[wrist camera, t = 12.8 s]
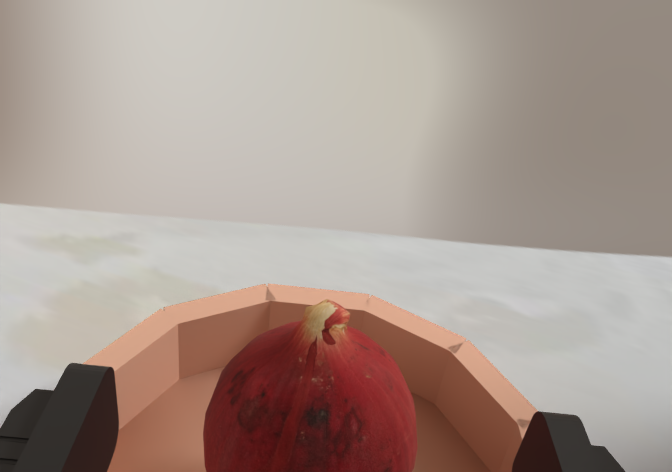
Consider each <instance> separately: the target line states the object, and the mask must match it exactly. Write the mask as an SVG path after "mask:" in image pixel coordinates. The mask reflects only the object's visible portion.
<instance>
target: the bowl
mask: <svg viewBox="0 0 672 472" xmlns="http://www.w3.org/2000/svg"><path fill="white" fill-rule="evenodd" d="M325 299H328V300H331V301H333V302H336V303H337V304H339V305H341V306H342V307H343V308H345V309H346V310H347V311H348V312H349V313H350V317H349V322H348V323H347V324H346V325H347V326H350V327H352V328H355V329H358V330H360V331H361V332H363V333H365V334H366V335H367V336H368V337H370V338H371V339H372V340H373V341H375V342H376V343H377V344H378V345H380V346H381V347H382V348H384V349H385V350H386V351H387V352H388V353H389V354H390V355H391V356H392V357H393V358H394V360H395V362H396V363H397V365H398V367H399V369H400V371H401V373H402V375H403V377H404V380H405V382H406V384H407V386H408V388H409V390H410V393H411V395H412V397H413V401H414V407H415V412H416V428H417V447H418V449H417V455H416V460H415V466H414V469H413V471H412V472H512V465H513V462H514V459H515V456H516V454H517V452H518V449H519V447H520V445H521V442H522V440H523V437H524V435H525V433H526V430H527V428H528V426H529V423H530V421H531V419H532V417H533V415H534V413H536V412H538V411H537V410H536V409H535V408H534V407H533V406H532V405H531V404H530V402H529V401H528V400H527V399H526V398H525V397H524V396H523V395H522V394H521V393H520V392H519V391H518V390H517V389H516V388H515V387H514V386H513V385H512V384H511V383H510V382H509V381H508V380H507V379H506V378H505V377H504V376H503V375H502V374H501V373H500V372H499V371H498V370H497V369H496V368H495V367H494V366H493V365H492V363H491V362H490V361H489V360H488V359H487V358H486V357H485V356H484V355H483V354H482V353H481V352H480V351H479V350H478V349H477V348H476V347H475V346H474V345H473V344H472V343H471V342H470V341H469V340H468V341H466V338H464V337H462V336H460V335H458V334H456V333H453V332H451V331H449V330H447V329H445V328H443V327H440V326H438V325H436V324H434V323H432V322H430V321H427V320H425V319H423V318H421V317H419V316H417V315H414V314H412V313H410V312H408V311H406V310H404V309H401V308H399V307H397V306H395V305H393V304H391V303H388V302H386V301H384V300H382V299H380V298H378V297H375V296H373V295H372V296H371V297H370V298H369V294H362V293H353V292H343V291H334V290H324V289H315V288H305V287H296V286H286V285H277V284H268V287H267V286H266V284H262V285H258V286H253V287H249V288H245V289H241V290H236V291H232V292H228V293H223V294H219V295H215V296H211V297H206V298H202V299H198V300H193V301H189V302H185V303H181V304H176V305H172V306H168V307H163V309H164V310H162V309H159V310H158V311H157V312H155V313H154V314H152V315H151V316H150V317H148V318H147V319H145V320H144V321H143V322H141V323H140V324H138V325H137V326H135V327H134V328H133V329H131V330H130V331H128V332H127V333H126V334H124V335H123V336H121V337H120V338H118V339H117V340H116V341H114V342H113V343H111V344H110V345H109V346H107V347H106V348H104V349H103V350H101V351H100V352H99V353H97V354H96V355H94V356H93V357H92V358H90V359H89V360H87V361H86V362H84V363H83V364H88V365H98V366H107V367H112V368H113V369H114V374H115V383H116V394H117V405H118V415H119V431H118V438H117V443H116V447H115V451H114V454H113V457H112V460H111V462H110V465H109V468H108V471H107V472H206V468H205V462H204V442H203V429H204V421H205V413H206V410H207V408H208V405H209V403H210V400H211V397H212V395H213V392H214V390H215V387H216V385H217V382H218V379H219V377H220V374H221V372H222V370H223V369H224V368H225V366H226V365H227V364H228V363H229V362H230V360H231V359H232V358H233V357H234V356H235V355H237V354H238V353H239V352H240V351H241V350H242V349H243V348H244V347H245V346H246V345H247V344H248V343H249V342H250V341H252V340H253V339H254V338H255V337H257V336H258V335H259V334H262V333H264V332H266V331H269V330H271V329H274V328H277V327H279V326H282V325H285V324H287V323H290V322H296V321H301V320H302V319H303V316H304V312H305V309H306V307H309V306H312V305H316V304H318V303H320V302H322V301H324V300H325Z"/></svg>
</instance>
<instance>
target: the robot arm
mask: <svg viewBox="0 0 672 472" xmlns="http://www.w3.org/2000/svg"><path fill="white" fill-rule="evenodd" d="M118 431H119V415H118V405H117V394H116V383H115V374H114V369H113V368H112V367H107V366H98V365H88V364H78V363H71V364H69V365H68V366H67V367H66V369H65V371H64V373H63V374H62V376H61V378H60V380H59V382H58V384H57V386H56V388H55V390H54V391H51V390H41V389H35V390H34V391H33V392H31V393H30V394H29V395H28V396H27V397H26V398H24V399H23V400H22V401H21V402H20V403H19V404H17V405H16V406H15V407H14V408H13V409H12V410H11V411H10V413H9V414H8V416H7V418H6V420H5V421H4V423H3V425H2V427H1V428H0V472H107V471H108V468H109V465H110V462H111V460H112V457H113V454H114V451H115V447H116V443H117V438H118ZM512 472H625V471H624V469H623V468H622V467H621V466H620V465H619V463H618V462H617V461H616V460H615V459H614V458H613V456H612V455H611V454H610V453H609V452H608V450H607V449H606V448H605V447H603V446H593V445H591V444H590V441H589V439H588V436H587V433H586V431H585V428H584V426H583V423H582V421H581V420H580V418H579V417H578V416H576V415H569V414H559V413H549V412H539V411H538V412H536V413H534V415H533V417H532V419H531V421H530V423H529V426H528V428H527V430H526V433H525V435H524V437H523V440H522V442H521V445H520V447H519V449H518V452H517V454H516V456H515V459H514V462H513V465H512Z"/></svg>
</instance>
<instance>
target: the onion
mask: <svg viewBox="0 0 672 472" xmlns="http://www.w3.org/2000/svg"><path fill="white" fill-rule="evenodd" d="M349 317H350V313H349V312H348V311H347V310H346V309H345V308H343V307H342V306H341V305H339V304H337V303H336V302H333V301H331V300H328V299H325V300H324V301H322V302H320V303H318V304H316V305H312V306H309V307H306V309H305V312H304V316H303V319H302V320H301V321H296V322H290V323H287V324H285V325H282V326H279V327H277V328H274V329H271V330H269V331H266V332H264V333H262V334H259V335H258V336H257V337H255V338H254V339H253V340H252V341H250V342H249V343H248V344H247V345H246V346H245V347H244V348H243V349H242V350H241V351H240V352H239V353H238V354H237V355H235V356H234V357H233V358H232V359H231V360H230V362H229V363H228V364H227V365H226V366H225V368H224V369H223V370H222V372H221V374H220V377H219V379H218V382H217V385H216V387H215V390H214V392H213V395H212V397H211V400H210V403H209V405H208V408H207V410H206V413H205V421H204V429H203V442H204V462H205V468H206V472H412V471H413V469H414V466H415V460H416V455H417V449H418V447H417V428H416V412H415V407H414V401H413V397H412V395H411V393H410V390H409V388H408V386H407V384H406V382H405V380H404V377H403V375H402V373H401V371H400V369H399V367H398V365H397V363H396V362H395V360H394V358H393V357H392V356H391V355H390V354H389V353H388V352H387V351H386V350H385V349H384V348H382V347H381V346H380V345H378V344H377V343H376V342H375V341H373V340H372V339H371V338H370V337H368V336H367V335H366V334H365V333H363V332H361V331H360V330H358V329H355V328H352V327H350V326H347V325H346V324H347V323H348V322H349Z"/></svg>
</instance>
